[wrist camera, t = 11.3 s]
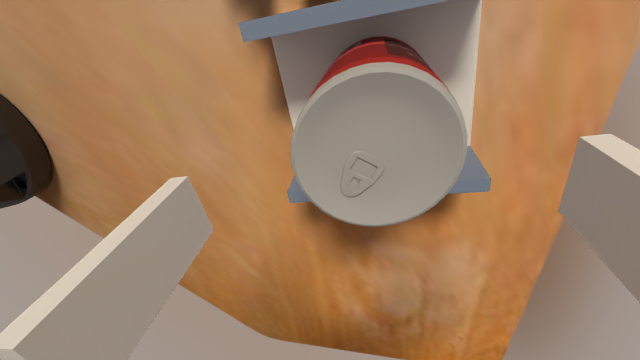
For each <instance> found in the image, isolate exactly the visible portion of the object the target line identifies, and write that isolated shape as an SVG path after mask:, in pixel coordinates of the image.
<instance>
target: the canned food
mask: <svg viewBox="0 0 640 360" xmlns="http://www.w3.org/2000/svg"><path fill="white" fill-rule="evenodd" d="M290 152H291V162H292V168H293V171H294V174H295V177H296V180H297V182H298V184H299V186H300V187H301V189H302V191H303V192H304V194H305V195H306V196H307V197H308V198H309V200H310V201H311V202H312V203H313V204H314V205H315V206H317V207H318V208H319V209H320V210H321V211H323V212H325V213H326V214H328V215H330V216H331V217H333V218H335V219H338V220H341V221H343V222H346V223H349V224H354V225H359V226H372V227H378V226H388V225H394V224H398V223H401V222H405V221H408V220H410V219H412V218H415V217H417V216H419V215H421V214H423V213H424V212H426V211H427V210H429V209H431V208H432V207H434V206H435V205H436V204H437V203H438V202H439V201H440V200H441V199H443V198H444V197H445V196H446V195H447V193H448V192H449V191H450V189H451V188H452V187H453V185H454V184H455V183H456V181H457V179H458V177H459V175H460V173H461V171H462V169H463V166H464V162H465V158H466V154H467V130H466V126H465V121H464V117H463V115H462V112H461V110H460V108H459V106H458V104H457V102H456V100H455V98H454V96H453V95H452V94H451V92H450V91H449V89H448V88H447V87H446V86H445V84H444V83H443V82H442V81H441V80H440V78H439V77H438V76H437V75H436V74H435V73H434V71H433V70H432V69H431V68H430V67H429V66H428V64H427V63H426V62H425V61H424V60H423V59H422V57H421V56H420V55H419V54H418V53H417V52H416V50H415V49H414V48H412V47H411V46H410V45H408V44H407V43H405V42H403V41H401V40H398V39H396V38H391V37H385V36H380V37H370V38H367V39H363V40H360V41H358V42H356V43H354V44H353V45H351V46H349V47H348V48H347V49H345V50H344V51H343V52H342V53H341V54H340V55H339V56H338V57H337V58H336V60H335V61H334V62H333V63H332V65H331V66H330V68H329V69H328V70H327V72H326V73H325V75H324V76H323V78H322V79H321V81H320V82H319V83H318V85H317V86H316V88H315V89H314V91H313V92H312V94H311V95H310V97H309V99H308V100H307V102H306V104H305V105H304V107H303V109H302V111H301V113H300V114H299V116H298V119H297V122H296V125H295V129H294V132H293V135H292V142H291V151H290Z"/></svg>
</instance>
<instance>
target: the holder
mask: <svg viewBox="0 0 640 360" xmlns="http://www.w3.org/2000/svg"><path fill="white" fill-rule="evenodd" d="M481 4H482V0H340V1H335V2H331V3H326V4H322V5H317V6H313V7H308V8H304V9H299V10H295V11H290V12H286V13H281V14H277V15H272V16H267V17H263V18H258V19H254V20H249V21H245V22H240V23H238V24H239V27H240V31H241V34H242V37H243V41H244V42H247V41H252V40H257V39H262V38H267V37H271V39H272V43H273V47H274V51H275V55H276V59H277V64H278V68H279V72H280V76H281V80H282V84H283V88H284V92H285V96H286V101H287V105H288V109H289V113H290V117H291V121H292V125H293V129H295V125H296V122H297V119H298V116H299V114H300V113H301V111H302V109H303V107H304V105H305V104H306V102H307V100H308V99H309V97H310V95H311V94H312V92H313V91H314V89H315V88H316V86H317V85H318V83H319V82H320V81H321V79H322V78H323V76H324V75H325V73H326V72H327V70H328V69H329V68H330V66H331V65H332V63H333V62H334V61H335V60H336V58H337V57H338V56H339V55H340V54H341V53H342V52H343V51H344V50H345V49H347V48H348V47H349V46H351V45H353V44H354V43H356V42H358V41H360V40H363V39H367V38H370V37H380V36H385V37H391V38H396V39H398V40H401V41H403V42H405V43H407V44H408V45H410V46H411V47H412V48H414V49H415V50H416V52H417V53H418V54H419V55H420V56H421V57H422V59H423V60H424V61H425V62H426V63H427V64H428V66H429V67H430V68H431V69H432V70H433V71H434V73H435V74H436V75H437V76H438V77H439V78H440V80H441V81H442V82H443V83H444V84H445V86H446V87H447V88H448V89H449V91H450V92H451V94H452V95H453V96H454V98H455V100H456V102H457V104H458V106H459V108H460V110H461V112H462V115H463V117H464V121H465V126H466V130H467V154H466V158H465V162H464V166H463V169H462V171H461V173H460V175H459V177H458V179H457V181H456V183H455V184H454V185H453V187H452V188H451V189H450V191H449V192H448V193H447V194H452V193H470V192H487V191H490V183H491V178H490V176H489V175H488V173H487V171H486V170H485V168H484V167H483V165H482V164H481V162H480V161H479V159H478V158H477V156H476V154H475V153H474V151H473V150H472V148H471V147H470V139H471V127H472V115H473V102H474V90H475V78H476V66H477V53H478V41H479V29H480V17H481ZM287 194H288V197H289V201H290V203H296V202H311V201H310V200H309V198H308V197H307V196H306V195H305V194H304V192H303V191H302V189H301V187H300V186H299V184H298V182H297V180H296V177H295V176H294V178H293V181H292V183H291V185H290V187H289V189H288V191H287Z"/></svg>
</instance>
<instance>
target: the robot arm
mask: <svg viewBox="0 0 640 360" xmlns="http://www.w3.org/2000/svg"><path fill="white" fill-rule="evenodd" d="M51 176H52V169H51V163H50V159H49V156H48V153H47V151H46V149H45V147H44V145H43V143H42V141H41V139H40V138H39V136H38V135H37V133H36V132H35V130H34V129H33V128H32V126H31V125H30V124H29V122H28V121H27V120H26V119H25V118H24V117H23V115H22V114H21V113H20V112H19V111H18V110H17V109H16V108H15V107H14V106H13V105H12V104H11V103H9V102H8V101H7V100H6V99H5V98H4V97H3V96H1V95H0V208H4V207H8V206H12V205H16V204H19V203H22V202H24V201H26V200H28V199H30V198H32V197H33V196H35V195H37V194H39V193H40V192H42V191H44V190H45V189H46V188H47V187H48V185H49V183H50V181H51ZM558 212H559V213H560V214H561V215H562V216H563V217H564V219H565V220H566V221H567V222H568V223H569V224H570V225H571V226H572V227H573V229H574V230H575V231H576V232H577V233H578V234H579V235H580V236H581V238H582V239H583V240H584V241H585V242H586V243H587V244H588V245H589V246H590V248H591V249H592V250H593V251H594V252H595V253H596V254H597V255H598V256H599V258H600V259H601V260H602V261H603V262H604V263H605V264H606V265H607V266H608V268H609V269H610V270H611V271H612V272H613V273H614V274H615V275H616V276H617V278H618V279H619V280H620V281H621V282H622V283H623V284H624V285H625V287H626V288H627V289H628V290H629V291H630V292H631V293H632V294H633V296H634V297H635V298H636V299H637V300H638V301H639V302H640V150H639V149H637V148H635V147H633V146H632V145H630V144H627V143H626V142H624V141H623V140H621V139H619V138H617V137H615V136H613V135H612V134H605V135H594V136H584V137H579V141H578V144H577V148H576V151H575V155H574V158H573V162H572V165H571V168H570V172H569V175H568V179H567V182H566V186H565V189H564V193H563V196H562V199H561V203H560V206H559V210H558ZM213 230H214V229H213V227H212V225H211V223H210V221H209V219H208V217H207V214H206V212H205V210H204V208H203V206H202V204H201V202H200V200H199V198H198V196H197V194H196V192H195V190H194V188H193V186H192V184H191V181H190V179H189V177H188V176H185V177H175V178H170V179H169V180H168V181H167V182H166V183H165V184H164V185H163V186H162V187H161V188H159V189H158V190H157V191H156V192H155V193H154V194H153V195H152V196H151V197H150V198H148V199H147V200H146V201H145V202H144V203H143V204H142V205H141V206H140V207H139V208H137V209H136V210H135V211H134V212H133V213H132V214H131V215H130V216H129V217H128V218H126V219H125V220H124V221H123V222H122V223H121V224H120V225H119V226H118V227H117V228H115V229H114V230H113V231H112V232H111V233H110V234H109V235H108V236H107V237H106V238H104V239H103V240H102V241H101V242H100V243H99V244H98V245H97V246H96V247H95V248H93V250H91V251H90V252H89V253H88V254H87V255H86V256H85V257H84V258H82V260H81V261H79V262H78V263H77V264H76V265H75V266H74V267H73V268H72V269H70V270H69V271H68V272H67V273H66V274H65V275H64V276H63V277H62V278H61V279H59V280H58V281H57V282H56V283H55V284H54V285H53V286H52V287H51V288H50V289H49V290H47V291H46V292H45V293H44V294H43V295H42V296H41V297H40V298H39V299H37V300H36V301H35V302H34V303H33V304H32V305H31V306H30V307H29V308H28V309H26V310H25V311H24V312H23V313H22V314H21V315H20V316H19V317H18V318H17V319H15V320H14V321H13V322H12V323H11V324H10V325H9V326H8V327H7V328H6V329H5V330H3V331H2V332H1V333H0V360H128V358H129V357H130V355H131V354H132V352H133V351H134V349H135V348H136V346H137V345H138V343H139V341H140V340H141V339H142V337H143V336H144V334H145V333H146V331H147V329H148V328H149V326H150V325H151V324H152V322H153V320H154V319H155V318H156V316H157V314H158V313H159V312H160V310H161V309H162V307H163V305H164V304H165V302H166V301H167V300H168V298H169V297H170V295H171V294H172V292H173V291H174V289H175V288H176V286H177V285H178V283H179V282H180V280H181V278H182V277H183V275H184V274H185V272H186V271H187V269H188V268H189V266H190V265H191V263H192V262H193V260H194V259H195V257H196V256H197V254H198V253H199V251H200V250H201V248H202V247H203V245H204V244H205V242H206V241H207V239H208V238H209V236H210V235H211V233H212V232H213Z"/></svg>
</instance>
